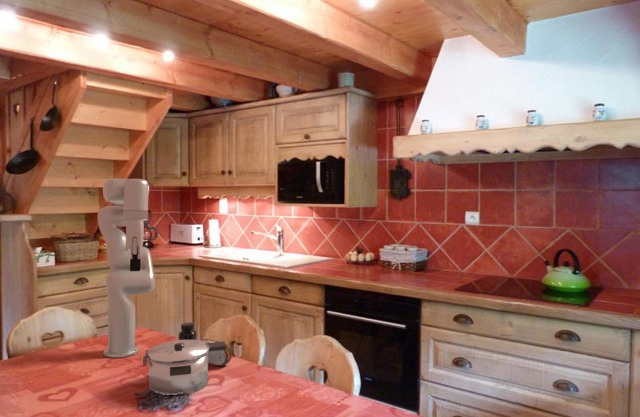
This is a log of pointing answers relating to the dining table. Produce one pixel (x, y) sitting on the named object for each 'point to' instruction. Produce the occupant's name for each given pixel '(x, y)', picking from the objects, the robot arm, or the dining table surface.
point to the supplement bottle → (187, 332)
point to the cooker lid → (182, 350)
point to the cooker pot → (178, 375)
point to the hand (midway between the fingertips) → (135, 270)
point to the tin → (218, 355)
